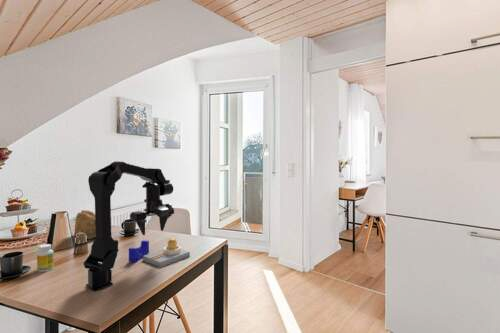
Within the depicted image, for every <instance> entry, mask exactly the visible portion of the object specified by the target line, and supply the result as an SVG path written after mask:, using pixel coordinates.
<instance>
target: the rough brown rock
mask: <svg viewBox="0 0 500 333" xmlns="http://www.w3.org/2000/svg"><path fill="white" fill-rule="evenodd" d="M79 232H84V233H85V234H86V236H87V239H86V240H91V239H94V238H96V225H95V213H94V212H93V211H91V210H86V209H83V210H81V211H80V212H78V213H77V214H76V216H75V224H74V234H73V235H74V237H75V238H77V237H76V234H77V233H79Z"/></svg>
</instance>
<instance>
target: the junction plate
mask: <svg viewBox="0 0 500 333" xmlns="http://www.w3.org/2000/svg"><path fill="white" fill-rule="evenodd" d="M190 256H191V251H188V250H185V249H183V248H182V246H181V245H178V244H177V249H175V250H168V245H166V246H164V248H163V249H161V250H158V251H154V252H151V253H148V254H147V255H144V256H143V258H142V261H143V262H146V263H149V264H151V265H154V266H157V267H159V268H162V267H163V266H167V265H170V264H172V263H175V262H177V261H180V260H183V259H185V258H188V257H190Z"/></svg>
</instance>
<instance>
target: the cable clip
mask: <svg viewBox="0 0 500 333" xmlns="http://www.w3.org/2000/svg"><path fill="white" fill-rule="evenodd" d="M148 254H150V240H146V239H145V240H141V241H140V246H139V247H129V248H128V263H137V262H138V261H140V260H141V259H143V256H144V255H148Z"/></svg>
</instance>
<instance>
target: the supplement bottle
mask: <svg viewBox="0 0 500 333" xmlns="http://www.w3.org/2000/svg"><path fill="white" fill-rule="evenodd" d="M38 250H39V251H37V253H36V264H37V265H36V268H37V271H38V273H39V272H42V273H43V272H48V271H51V270H53V269H54V267H55V266H54V264H55V263H54V260H55V258H54V256H55V255H54V250H53V249H52V244H50V243H47V244H40V245H39V246H38Z"/></svg>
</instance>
